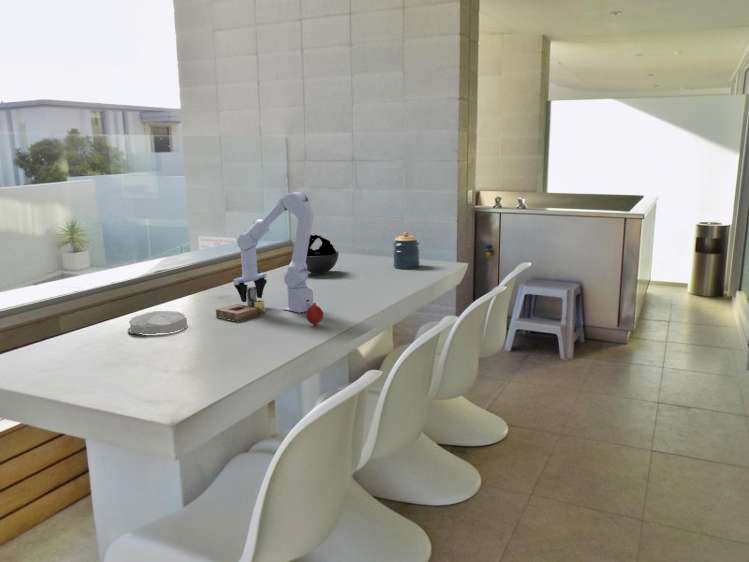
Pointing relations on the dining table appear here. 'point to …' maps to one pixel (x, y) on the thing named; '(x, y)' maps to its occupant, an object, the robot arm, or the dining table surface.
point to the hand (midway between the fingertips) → (251, 299)
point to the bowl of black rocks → (321, 256)
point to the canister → (406, 252)
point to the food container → (158, 322)
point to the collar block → (237, 312)
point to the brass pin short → (259, 306)
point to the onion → (314, 314)
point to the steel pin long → (251, 296)
